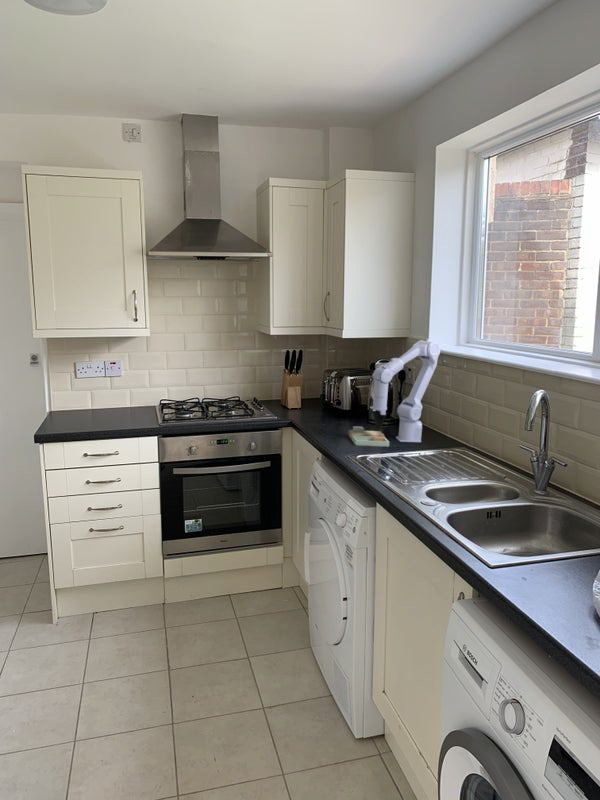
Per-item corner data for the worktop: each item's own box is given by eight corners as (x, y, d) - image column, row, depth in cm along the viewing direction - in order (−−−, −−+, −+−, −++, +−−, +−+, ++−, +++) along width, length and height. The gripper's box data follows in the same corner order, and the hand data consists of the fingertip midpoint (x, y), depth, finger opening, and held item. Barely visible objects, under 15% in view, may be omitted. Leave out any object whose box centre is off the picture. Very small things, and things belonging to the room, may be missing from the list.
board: (379, 436, 269) (380, 431, 268) (383, 441, 261) (384, 435, 260) (348, 435, 267) (349, 430, 267) (351, 439, 260) (352, 434, 259)
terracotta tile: (381, 440, 259) (381, 436, 258) (383, 443, 255) (383, 438, 254) (372, 440, 258) (372, 436, 258) (374, 442, 254) (374, 438, 254)
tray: (384, 441, 260) (384, 436, 260) (389, 446, 252) (389, 441, 251) (351, 440, 259) (352, 435, 259) (355, 445, 250) (356, 440, 250)
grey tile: (361, 431, 267) (362, 426, 266) (363, 433, 263) (363, 428, 262) (352, 430, 266) (353, 426, 266) (354, 432, 262) (354, 428, 262)
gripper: (367, 393, 262) (365, 424, 264) (374, 399, 248) (372, 432, 250) (383, 394, 263) (381, 424, 265) (391, 400, 248) (389, 432, 251)
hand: (378, 428), depth 258 cm, fingers closed
